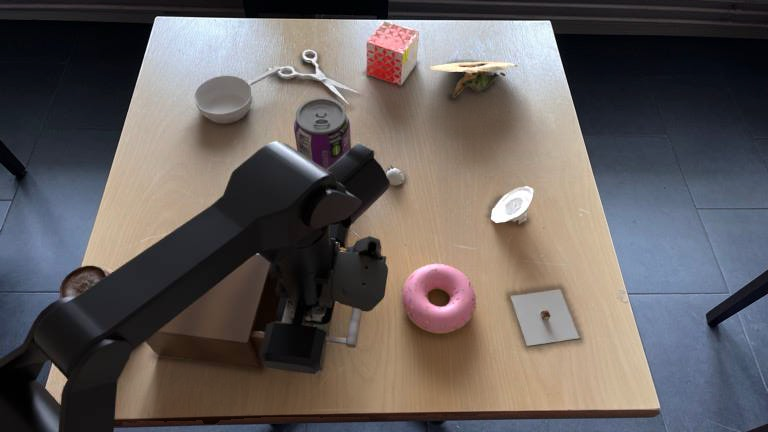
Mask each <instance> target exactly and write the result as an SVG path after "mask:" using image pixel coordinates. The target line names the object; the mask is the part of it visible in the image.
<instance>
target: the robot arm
mask: <svg viewBox="0 0 768 432" xmlns="http://www.w3.org/2000/svg"><path fill="white" fill-rule="evenodd" d="M390 185H391V184H390V181H389V179H388V178H387V176H386V171H385V170H384V168H383V167H382V165H381V164H380V162H378V161H377V159H376V158H375V150H373V149H372V148H370V147H368V146H367V145H366V144H364V143H362V142H359V141H358V142H356V143H355V144H353V146H351V149H350V150H349V151H347V152H346V153H345V154H344V155H343V156H342V157H340V158H339V159H338V160H337V161H336V162H335V163H333V164H332V165H331V166H330V167H329V168H328V169H327V170H326V169H325V168H323V167H321V166H320V165H318V164H317V163H315V162H314V161H312V160H311V159H309V158H308V157H306V156H305V155H303V154H301V153H300V152H298V151H297V149H296V148H294V147H293V146H291V145H289V144H287V143H285V142H280V141H279V140H276V141H272V142H269V143H267V144H265V145H262V147H260V148H259V149H258V150H256V151H255V152H254V153H253V154H252V155H251V156H249V157H248V158H247V159H246V160H244V162H242V163H241V164H239V165H238V166H237V167H236V168H235V169H234V170H233V171H232V172H231V174H230V177H229V179H228V181H227V184H226V187H225V189H224V192H223V193H222V195H221V196H220V197H219V198H218V199H217V200H216V201H214V203H212V204H211V205H209V206H208V207H206V208H205V209H204V210H202V211H200V212H199V213H198V214H196V215H195V216H193V217H192V218H190V219H189V220H187V221H185V222H184V223H183V224H182V225H180V226H178V227H176V229H174V230H172V231H171V232H170V233H168V234H166V235H165V236H164V237H162V238H161V239H159V240H158V241H156V242H155V243H153V244H152V245H151V246H148V248H146V249H144V250H143V251H142V252H140V253H139V254H137V255H136V256H134V257H133V258H131V259H129V260H128V261H127V262H125V263H124V264H122V265H121V266H119V267H118V268H116V269H115V270H114V271H111V273H110V272H109V273H110V274H109V275H108V276H106V277H105V278H103V279H102V280H100V281H99V282H97V283H96V284H94V285H93V286H91V287H90V288H88V289H87V290H85V291H84V292H82V293H81V294H79V295H78V296H68V297H64V298H61V299H60V298H59V299H57V300H55V301H53V302H51V303H49V304H48V305H47V306H46V307H45V308H44V309H42V310H41V311H40V312H39V314H38V315H37V316H36V318H35V319H34V321H33V322H32V324H31V326H30V328H29V330H28V332H27V334H26V337H25V338H24V340H23V343H22V344H20V345H19V346H18V347H16V348H15V349H13V350H11V351H10V352H8V353H6V354H5V355H4V356H2V357H1V358H0V432H114V430H115V420H116V419H115V418H116V405H117V392H118V391H117V390H118V381H119V378H120V377H121V375H122V373H123V371H124V369H125V368H126V366H127V364H128V362H129V360H130V358H131V355H132V353H133V352H134V351H135V350H136V349H137V348H139V347H140V346H141V345H142V344H143V343H146V342H145V341H146V340H147V339H148V338H150V337H151V336H152V335H153V334H155V333H156V332H157V331H159V330H160V329H161V328H162V327H164V326H165V325H166V324H167V323H169V322H170V321H171V320H172V319H174V318H175V317H176V316H178V315H179V314H180V313H181V312H183V311H184V310H185V309H186V308H188V307H189V306H190V305H191V304H193V303H194V302H195V301H196V300H198V299H199V298H200V297H202V296H203V295H204V294H205V293H207V292H208V291H209V290H210V289H212V288H213V287H214V286H215V285H217V284H218V283H219V282H221V281H222V280H223V279H224V278H226V277H227V276H228V275H229V274H231V273H232V272H233V271H234V270H236V269H237V268H238V267H240V266H241V265H242V264H243V263H245V262H246V261H247V260H248V259H250V258H251V257H253V256H254V255H256V254H258V255H261V256H262V257H263V258H265V259H266V260H267V261H269V262H270V263H271V268H270V271H269V274H270V277H272V278H279V279H278V283H277V286H276V290H275V294H276V297H281V298H280V301H279V305H278V309H277V316H278V318H279V319H281V320H282V322H272V323H269V324H267V326H266V330H265V333H264V337H263V341H262V344H261V348H260V351H259V358H260V360H261V362H262V364H261V365H262V366H263V367H264V368H265V369H269V370H270V369H271V370H278V371H285V372H293V373H301V374H306V375H314V376H315V375H316V374H318V373H319V372H321V371H320V370H321V368H322V363H323V358H324V353H325V348H326V340H327V333H326V332H325V331H323V330H321V329H319V328H318V327H312V326H304V324H305V323H309V324H316V325H325V324H328V323H329V322H330V320H331V317H332V312H333V307H334V302H335V303H338V304H340V305H344V306H347V307H350V308H352V307H354V308H357V309H360V310H361V311H362V312H365V313H369V312H371V311H373V310H374V309H375V307H376V306H377V305H378V304H379V303H381V301H383V300H384V298H385V296H386V290H387V289H386V288H387V281H388V275H389V267H388V265H387V256H386V255H382V243H381V240H380V238H378V237H377V238H376V237H373V236H370V235H368V236H365V237H362V238H360V239H358V240H356V242H354V244H353V245H350V246H347V244H348V243H347V242H348V238H349V233H350V227H351V226H352V225H353V224H354V223H355V222H356V221H358V219H359V218H360V217H361V216H362V215H363V214H364V213H365V212H367V210H369V209H370V207H371V206H373V204H375V203H376V202H377V201H379V199H380V198H381V197H382V196H383V195H384V194H385V193H386V192H387V191H388V189H390ZM341 249H345V251H341ZM334 308H335V307H334ZM333 313H334V312H333ZM332 318H333V317H332ZM292 321H293V322H292ZM290 322H292V324H291V323H290ZM326 349H327V348H326ZM325 354H326V353H325ZM324 359H325V358H324ZM48 361H50V362H51V363H52V365H54V367H56V369H57V370H58V371H59V372H60V373H61V374H62V375H63V376H64V378H66V382H65V384H64V385H63V388H62V391H61V396H60V402H59V401H58V400H57V399H56V398H55V397H54V396H53V395H52V393H51V392H50V391H49V390H48V389H47V388H46V387H45V386H44V384H43V383H41V382H40V381H37V380H38V377H39V375H40V373H41V371H42V370H43V368H44V365H45V364H46V362H48ZM323 364H324V363H323ZM322 369H323V368H322Z"/></svg>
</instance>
